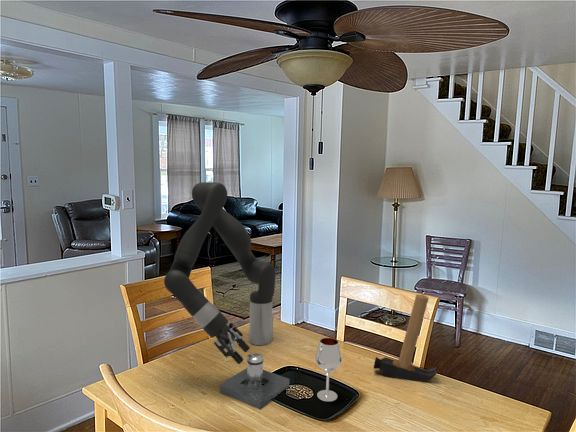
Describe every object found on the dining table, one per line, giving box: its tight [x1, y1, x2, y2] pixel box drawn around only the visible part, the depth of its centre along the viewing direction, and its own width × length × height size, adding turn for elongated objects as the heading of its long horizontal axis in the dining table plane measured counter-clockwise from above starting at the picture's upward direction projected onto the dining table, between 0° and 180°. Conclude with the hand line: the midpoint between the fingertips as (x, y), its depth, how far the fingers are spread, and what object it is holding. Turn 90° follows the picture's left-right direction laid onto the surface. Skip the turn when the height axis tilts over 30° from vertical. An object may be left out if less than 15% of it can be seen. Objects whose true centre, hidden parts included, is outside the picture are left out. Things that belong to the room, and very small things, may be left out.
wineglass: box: [315, 337, 343, 402], centre depth 130 cm, size 8×8×18 cm
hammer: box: [373, 294, 437, 383], centre depth 143 cm, size 20×5×30 cm, turn 76°
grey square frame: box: [219, 367, 290, 410], centre depth 134 cm, size 16×16×2 cm
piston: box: [246, 352, 264, 390], centre depth 133 cm, size 5×5×11 cm
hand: (244, 355), depth 133 cm, fingers open, 8 cm apart
